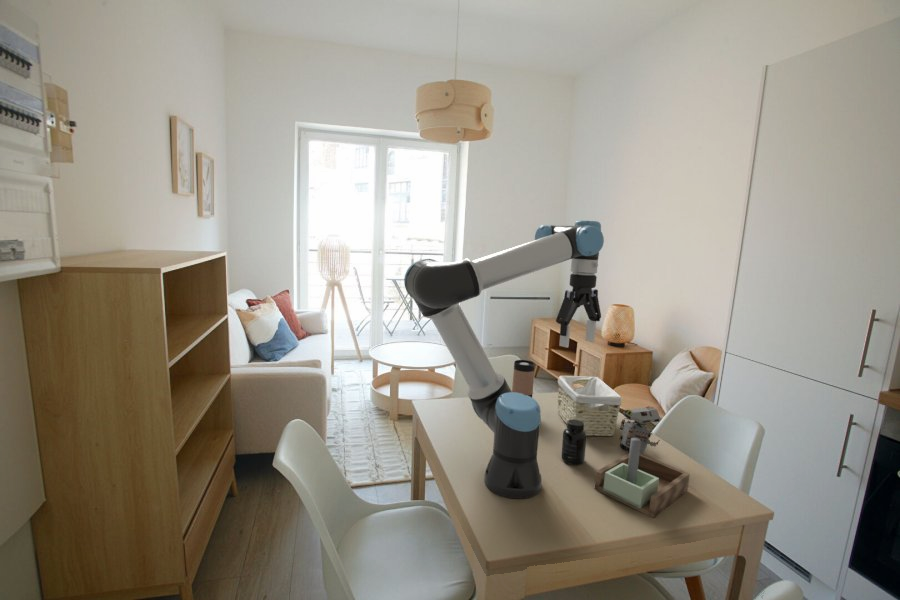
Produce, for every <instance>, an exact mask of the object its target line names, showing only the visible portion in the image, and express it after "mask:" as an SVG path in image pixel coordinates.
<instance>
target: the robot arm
mask: <svg viewBox="0 0 900 600" xmlns="http://www.w3.org/2000/svg"><path fill="white" fill-rule="evenodd" d="M604 243H605V237H604V234H603V232H602V225H601V222H599V221H597V220H576V221H575V222H574V225H554V224H553V225H552V224H548V225H547V224H546V225H543V224H542V225H540V226H538V228H537V229H536V230H535V235H534V240H532V241H529V242H526V243H523V244H520V245H516V246H514V247H511V248H508V249H505V250H502V251H498V252H496V253H492V254H489V255H485V256H483V257H481V258H477V259H474V260H470V259H469V258H464V259H461V260H457V261H452V262H451V261H450V262H441V261H437V260H435V259H432V258H425V259H424V258H423V259H419V260H417V261H415V262H413V263H412V264H411V265H410V266H408V268H407V269H406V272H405V275H404V278H403V279H404V280H403V282H404V288H405V291H406V293H407V294H408V295H409V296H410V297H411V298H412V299H413V301H414V303H415V304H416V306H417V307H418V309H419V311H420V312H421V315H422V317H424V318H427V319H430V320H431V322H432V323H433V325H434V326H435V328H436V330H437V332H438V333H439V335H440V337H441V339H442V341H443V342H444V344H445V346H446V348H447V350H448V351H449V353H450V355H451V357H452V359H453V360H454V362H455V364H456V366H457V367H458V369H459V371H460V373H461V374H462V376H463V378H464V380H465V382H466V384H467V386H468V387H469V388H468V390H467V396H468V398H469V400H470V401H471V406H472V409H473V411H474V413H475V415H476V416H477V417H478V418H479V419H480V420H482V421H483V423H484V424H485V425H486V426H487V427H488V428H489V430H491V431H492V433H493V447H492V448H493V449H492V455H491V457H490V459H489V462H488V464H487V466H486V469H485V471H484V484H485V486H486V487H487V488H488V489H489V490H490V491H491V492H492V493H495V494H496V495H498V496H501V497H504V498H508V499H517V500H518V499H529V498H532V497H535V496H536V495H538V494H539V493H540V491H541V489H542V483H543V482H542V475H541V473H540V469H539V463H538V459H537V458H538V449H539V448H538V447H539V436H540V435H539V434H540V426H541V420H542V419H541V407H540V405H539V402H538V401H537V400H536V399H534V398H533V396H532V397H530V396H528V395H527V396H525V395H524V394H521V393H516V392H512V389H511V387H510V386H509V384H508V382H507V381H506V378H505V377H504V375H503V374H502V373H500V372H496V371H495V369H494V367H493V365H492V363H491V361H490V360H489V358H488V356H487V353H486V351H484V348H483V347H482V345H481V343H480V341H479V339H478V338H477V335H476V334H475V332H474V329H473V327H472V326H471V324H470V323H469V320H468V319H467V317H466V315H465V313H464V312H463V309H462V307H461V305H460V303H463V302H466V301H469V300H470V299H473V298H476V297H479V296H480V295H481V292H482V291H484V290H486V289H489V288H493V287H495V286H498V285H501V284H504V283H506V282H509V281H512V280H516V279H518V278H521V277H523V276H526V275H529V274H532V273H534V272H538V271H540V270H544V269H547V268H549V267H552V266H554V265H555V266H556V265H558V264H560V263H563V262H566V261H568V260H571V264H570V271H571V272H572V273H571V274H570V275H569V286H570V287H571V288H572V289H571V290H568V289H567V290H565V291H564V296H563V297H564V298H563V299H562V303H561V305H560V309H559V310H558V314H557V316H556V319H555V322H556V323H557V324H559V325H560V329H559V347H563V348H569V346H570V345H569V343H570V335H571V324H570V322H571V321H572V319H573V317H574V316H575V314H576V311H577V310H578V308H580V307H581V306H583V307H584V310H585V313H586V315H587V318H588V319H587V320H586V327H585V328H586V329H585V339H584V341H586V342H589V343H590V342H591V343H595V335H596V326H597V322H600V320H601V318H602V313H601V308H600V301H599V297H598V296H599V290H598V289H595V288H596V286H597V278H598V277H597V273H598V266H599V264H598V263H599V256H600V251H601V250H602V248H603V246H604ZM595 274H596V275H595Z"/></svg>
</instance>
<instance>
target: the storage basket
mask: <svg viewBox="0 0 900 600" xmlns="http://www.w3.org/2000/svg"><path fill="white" fill-rule="evenodd" d="M557 383H558V393H557V413H558V415H559V417H561V419H562V420H563V422H564V423H565V424H566V425H567V422H568V420H573V419H574V420H579V421H582V422H583V423H584V430H583V431H584V432H585V433H586V436H595V437H601V436H602V437H613V436H614V435H615V431H616V425H617V421H618V417H619V412H620V408H621V406H622V396H621V395H620V394H618V392H616V391H615V390H614V389H613V388H611V387H610V386H609V385H608V384H606V383H605V382H604V380H602V379H601V378H599V376H585V375H584V376H583V375H581V376H580V375H560V376H558V379H557ZM574 385H584V386H580V387H578V388H574Z"/></svg>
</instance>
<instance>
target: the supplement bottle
mask: <svg viewBox="0 0 900 600" xmlns="http://www.w3.org/2000/svg"><path fill="white" fill-rule="evenodd" d="M583 430H584V423H583V422H582V421H579V420H574V419H573V420H568V422H567V424H566V428H564V429H563V431H562V443H561V460H562V462H564V463H566V464H568V465H572V466H579V465H582V464H584V462H585V460H586V459H585V457H586V447H587V435H586V433H585V432H584V431H583Z"/></svg>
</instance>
